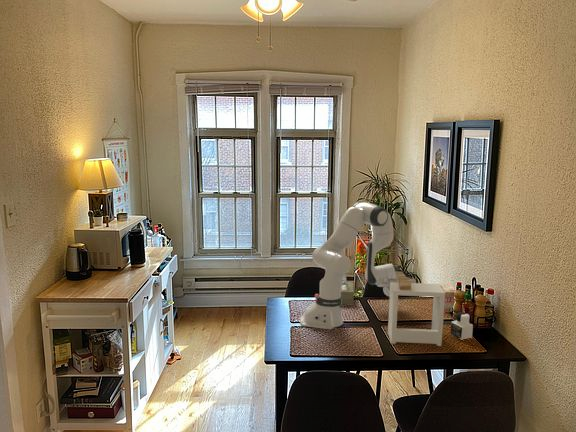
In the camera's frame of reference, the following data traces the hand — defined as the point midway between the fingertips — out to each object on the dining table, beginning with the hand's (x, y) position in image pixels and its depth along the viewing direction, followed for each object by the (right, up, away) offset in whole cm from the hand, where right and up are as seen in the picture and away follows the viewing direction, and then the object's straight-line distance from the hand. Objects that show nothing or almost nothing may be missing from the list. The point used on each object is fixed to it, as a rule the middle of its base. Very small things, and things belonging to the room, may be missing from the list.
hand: (397, 279), depth 231 cm
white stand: (+4, -27, -14) cm, 30 cm away
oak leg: (-1, 0, -12) cm, 13 cm away
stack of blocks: (+34, -20, +30) cm, 49 cm away
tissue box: (-22, -18, +39) cm, 48 cm away
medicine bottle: (+28, -27, -11) cm, 40 cm away
